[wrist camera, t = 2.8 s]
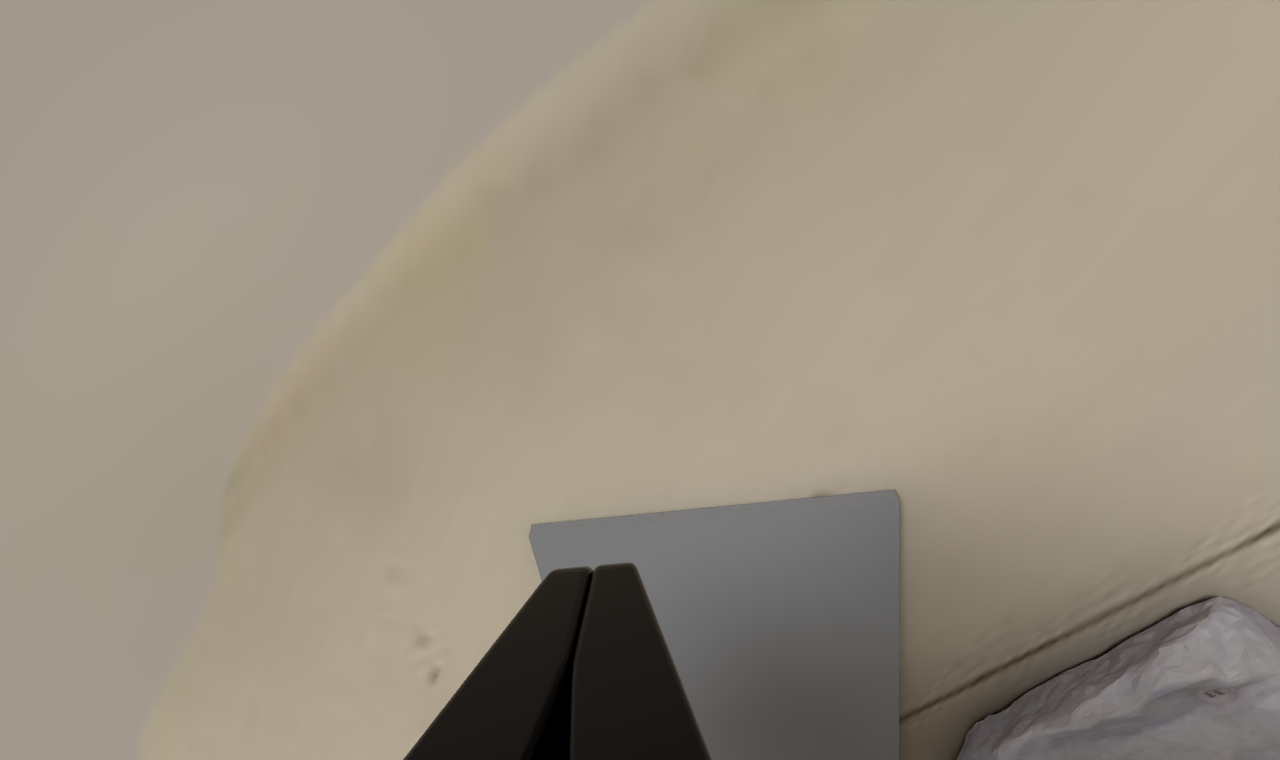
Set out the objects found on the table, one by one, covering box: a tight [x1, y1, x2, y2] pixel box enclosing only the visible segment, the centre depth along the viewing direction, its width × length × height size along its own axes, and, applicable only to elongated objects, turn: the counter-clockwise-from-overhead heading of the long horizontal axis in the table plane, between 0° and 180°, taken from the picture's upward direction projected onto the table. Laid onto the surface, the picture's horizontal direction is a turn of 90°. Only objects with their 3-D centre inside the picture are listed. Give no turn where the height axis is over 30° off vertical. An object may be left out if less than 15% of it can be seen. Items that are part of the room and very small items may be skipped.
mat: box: [529, 490, 899, 760], centre depth 26 cm, size 10×14×1 cm
